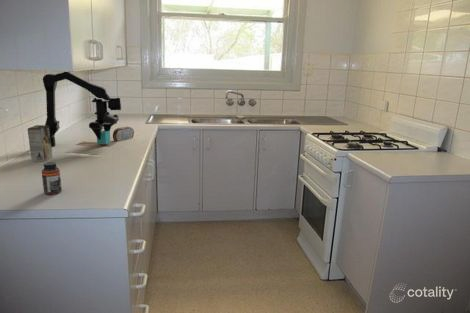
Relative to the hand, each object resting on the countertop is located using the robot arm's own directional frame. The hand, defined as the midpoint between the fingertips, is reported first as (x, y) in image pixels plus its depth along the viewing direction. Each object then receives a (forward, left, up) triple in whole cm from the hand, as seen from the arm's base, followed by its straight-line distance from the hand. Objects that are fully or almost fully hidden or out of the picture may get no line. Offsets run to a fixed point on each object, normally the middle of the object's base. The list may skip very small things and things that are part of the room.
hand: (103, 138), depth 203 cm
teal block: (0, 0, -3) cm, 3 cm away
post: (0, 0, -4) cm, 4 cm away
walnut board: (0, +5, -5) cm, 7 cm away
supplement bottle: (-71, -17, -5) cm, 73 cm away
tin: (+17, -4, -5) cm, 18 cm away
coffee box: (-31, +16, -5) cm, 35 cm away
